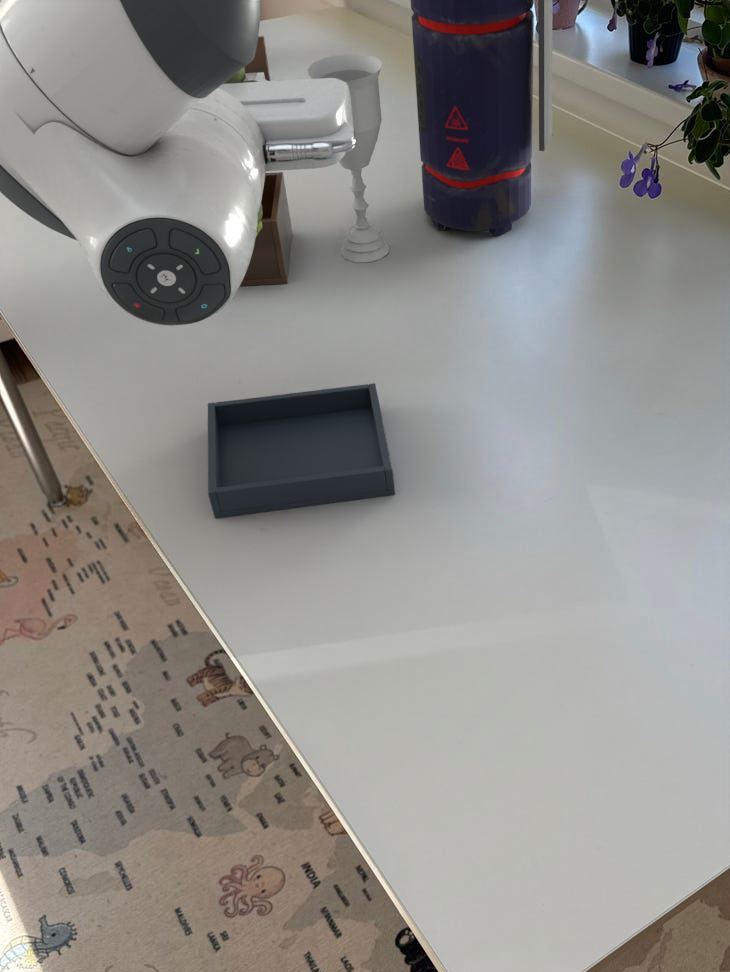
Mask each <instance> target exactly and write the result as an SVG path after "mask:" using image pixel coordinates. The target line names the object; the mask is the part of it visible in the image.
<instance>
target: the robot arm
mask: <svg viewBox="0 0 730 972" xmlns="http://www.w3.org/2000/svg"><path fill="white" fill-rule="evenodd" d="M261 11H262V0H0V193H1V194H2V195H3V196H4V197H5V198H6V199H8V201H10V203H12V204H13V205H14V206H15V207H17V208H19V209H20V210H21V211H22V212H24V213H25V214H27V215H28V216H29V217H31V218H32V219H34V220H36V221H37V222H39V223H40V224H41V225H44V226H45V227H46V228H49V229H50V230H52V231H55V232H57V233H59V234H61V235H63V236H65V237H68V238H70V239H72V240H73V241H77V242H78V244H79V245H80V246H81V249H82V250H83V252H84V253H85V255H86V258H87V260H88V263H89V265H90V267H91V270H92V272H93V274H94V277H95V279H96V280H97V282H98V284H99V286H100V288H101V289H102V290H103V292H104V293H105V294H106V296H107V297H109V299H110V300H111V301H112V302H113V303H114V304H115V305H117V306H118V307H119V308H120V309H122V310H123V311H124V312H126V313H127V314H128V315H130V316H132V317H134V318H135V319H138V320H139V321H143V322H145V323H150V324H152V325H153V324H154V325H159V326H170V327H172V326H174V327H175V326H184V325H185V326H186V325H192V324H195V323H199V322H202V321H204V320H206V319H208V318H211V317H212V316H214V315H216V314H217V313H219V312H220V311H221V310H222V309H224V308H225V307H226V306H227V305H228V304H229V303H230V302H231V300H232V299H233V298H234V296H235V295H236V293H237V292H238V290H239V289H240V287H241V286H240V284H241V282H242V280H243V278H244V276H245V273H246V271H247V269H248V266H249V263H250V259H251V256H252V253H253V249H254V244H255V239H256V233H257V224H258V211H259V208H260V205H261V200H262V194H263V188H264V181H265V175H266V173H267V172H277V171H278V172H281V171H294V170H295V171H297V170H312V169H313V170H314V169H321V168H326V167H330V166H334V165H336V164H338V163H340V162H339V161H340V160H341V159H342V158H343V157H344V155H345V153H346V152H349V151H351V150H353V148H354V146H355V142H356V133H355V130H354V128H353V118H352V107H351V99H350V91H349V86H348V84H347V83H346V82H344V81H342V80H339V79H336V78H321V79H311V78H307V79H306V78H304V79H286V80H270V81H267V80H265V75H264V72H261V73H245V75H244V77H243V83H230V84H223V83H225V82H226V81H227V80H228V79H230V78H231V77H232V76H234V75H235V74H236V73H237V72H239V71H240V70H241V69H242V68H244V67H245V66H246V65H248V64H249V63H250V62H251V61H252V60H253V59H254V56H255V52H256V47H257V41H258V36H259V33H260V26H261V25H260V24H261Z"/></svg>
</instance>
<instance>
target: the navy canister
mask: <svg viewBox="0 0 730 972" xmlns="http://www.w3.org/2000/svg"><path fill="white" fill-rule="evenodd" d="M534 4H535V0H410V10H411V11H412V12H413V14H411V28H412V45H413V47H412V48H413V62H414V76H415V77H414V78H415V92H416V94H415V95H416V108H417V123H418V124H417V125H418V138H419V140H418V141H419V154H420V155H419V156H420V162H421V163H422V165H421V179H422V180H421V181H422V195H423V197H422V198H423V210H424V212H425V214H426V215H427V216H428V217H429V219H430V223H431V224H432V225H433V227H434V228H436V229H437V230H438V231H444V230H446V227H447V228H451V229H454V230H460V231H471V232H473V231H474V232H475V231H487V230H488V234H489V235H490V236H492V237H497V236H500V235H504V234H506V233H509V232H510V231H511V230H513V222H516V221H518V220H519V219H521V218H523V217H524V216H525V215H527V213H528V212H529V210H530V208H531V205H532V162H531V161H532V158H533V113H534V112H533V111H534V110H533V108H534V107H533V106H534V105H533V103H534V98H533V97H534V38H535V37H534V34H535V33H534V32H535V31H534V30H535V29H534V28H535V27H534V26H535V25H534V24H535V14H534V12H533V10H532V9H533V7H534ZM553 5H554V3H553V0H537V10H538V11H537V13H538V15H537V17H538V19H537V21H538V22H537V23H538V26H537V27H538V28H537V31H538V32H537V33H538V36H537V37H538V40H537V41H538V151H539V152H545V151H546V149H548V146H549V144H550V142H551V140H552V138H553V10H554V9H553Z"/></svg>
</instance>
